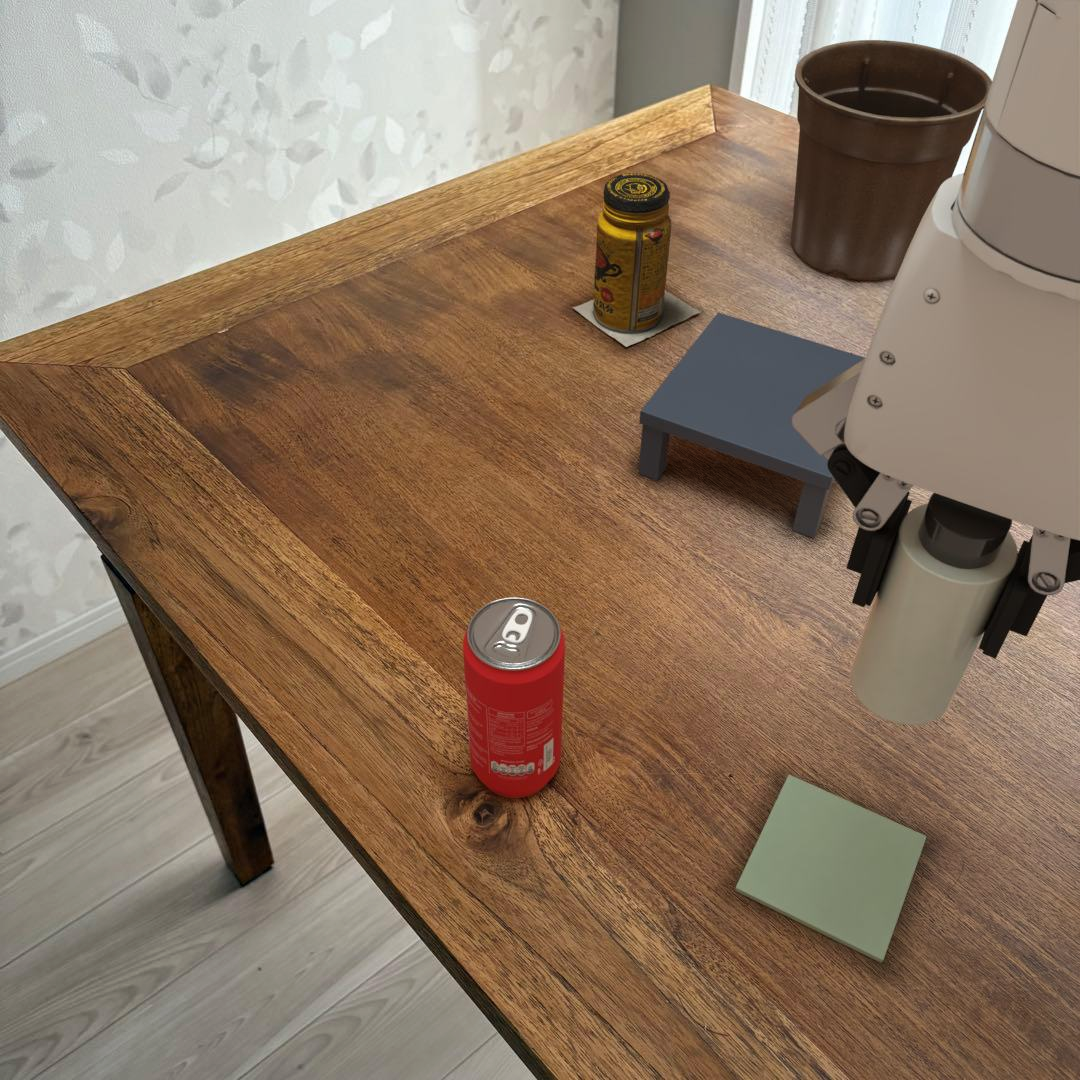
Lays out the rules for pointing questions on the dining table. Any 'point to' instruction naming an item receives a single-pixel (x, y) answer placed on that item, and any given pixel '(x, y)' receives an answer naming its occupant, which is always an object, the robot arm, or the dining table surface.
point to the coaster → (833, 867)
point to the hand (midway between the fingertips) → (932, 604)
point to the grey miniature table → (746, 405)
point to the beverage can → (514, 695)
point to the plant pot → (876, 148)
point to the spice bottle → (931, 609)
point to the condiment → (633, 262)
